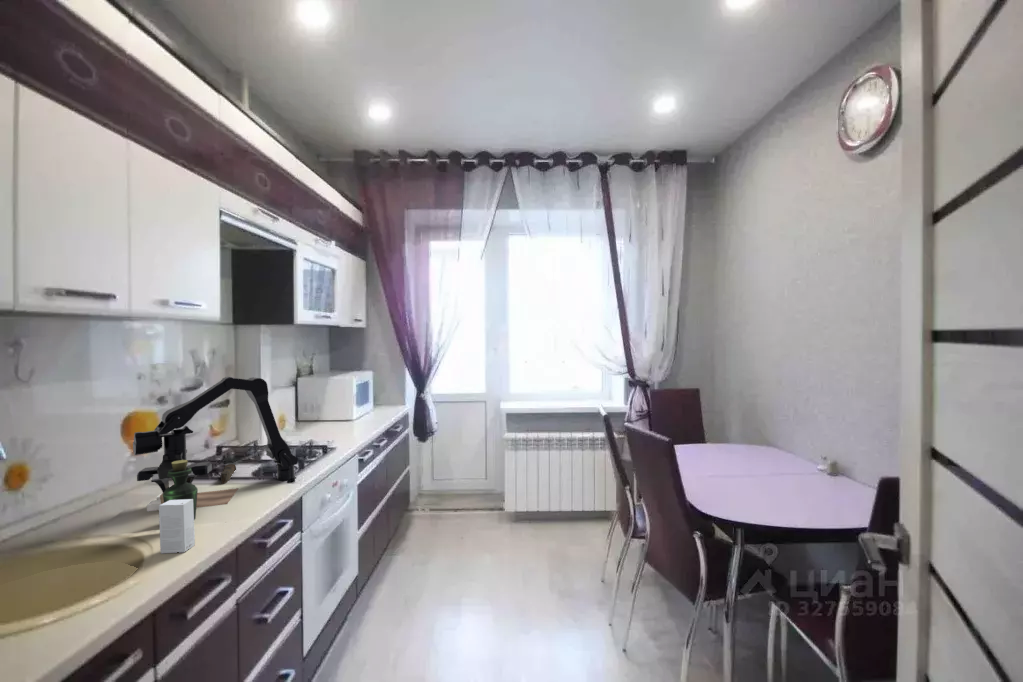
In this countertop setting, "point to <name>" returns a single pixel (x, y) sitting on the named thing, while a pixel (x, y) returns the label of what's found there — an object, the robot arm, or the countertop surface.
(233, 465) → the hand tool
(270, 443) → the robot arm
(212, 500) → the walnut board
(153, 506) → the white square block
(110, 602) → the countertop surface
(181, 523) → the skincare box
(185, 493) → the potion bottle
